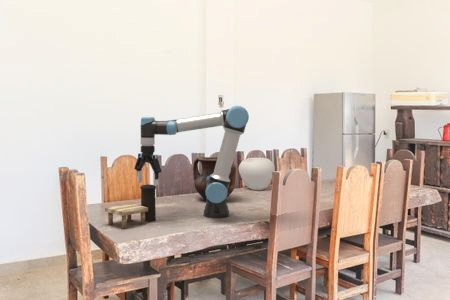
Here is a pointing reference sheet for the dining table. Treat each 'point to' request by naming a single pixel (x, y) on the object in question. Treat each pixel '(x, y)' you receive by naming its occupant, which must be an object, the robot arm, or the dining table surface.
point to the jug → (207, 170)
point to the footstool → (126, 213)
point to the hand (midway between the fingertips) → (147, 184)
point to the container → (148, 201)
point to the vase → (256, 172)
